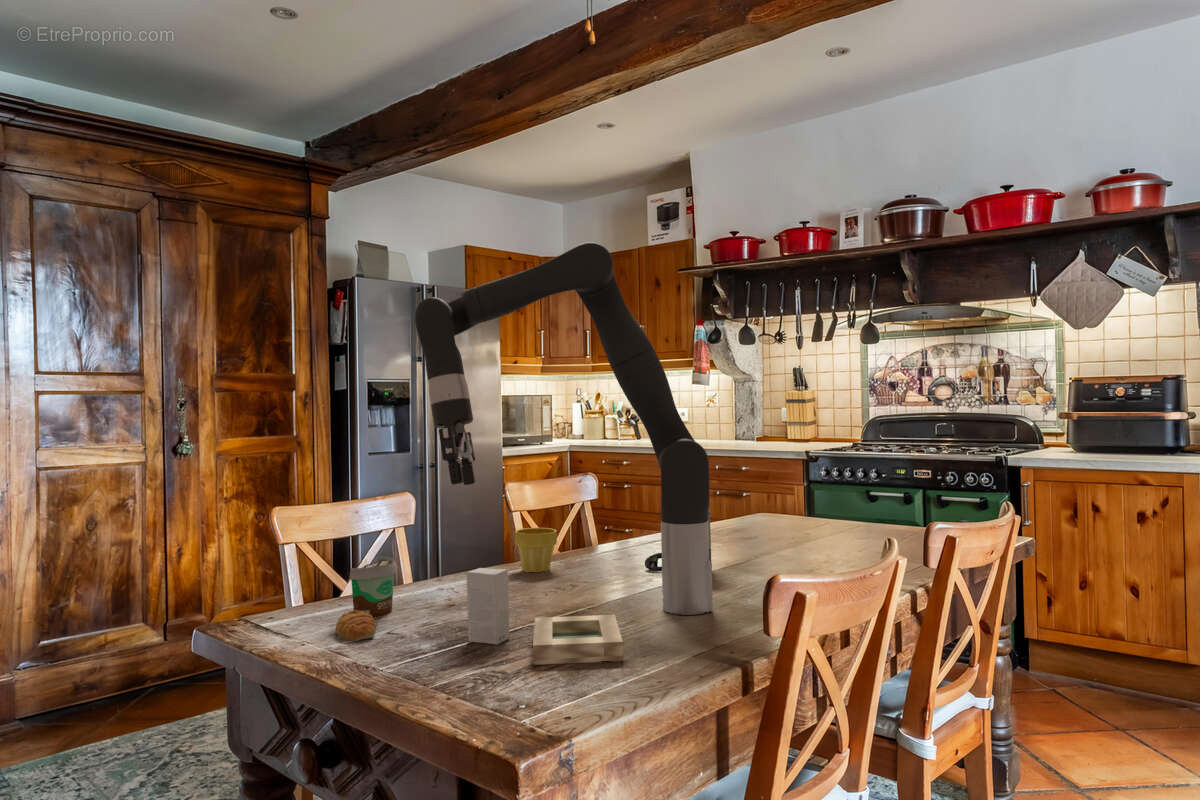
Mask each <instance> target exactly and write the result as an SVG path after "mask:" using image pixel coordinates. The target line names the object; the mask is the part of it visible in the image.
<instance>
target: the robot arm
mask: <svg viewBox="0 0 1200 800" xmlns="http://www.w3.org/2000/svg"><path fill="white" fill-rule="evenodd" d="M574 290H575V292H576V293H577V295H578V298H580V300H581V301H582V303H583V305H584V307H585V308H586V310H587V312H588V313H589V315H590V317H591V319H592V321H593V323H594V325H595V326H594V327H596V331H597V334H598V337H599V341H600V343H601V345H602V346H601V347H602V349H603V351H604V354H605V356H606V359H607V361H608V364H609V365H610V368H611V370H612V372H613V374H614V376H615V378H616V381H617V383H618V385H619V387H620V388H621V390H622V392H623V393H624V396H625V397H626V399H627V402H628V403H629V404H630V405H631V407H632V409H633V410H634V412H635V414H636V415H637V416H638V418H639V419H640V421H641V423H642V425H643V426H644V429H645V430H646V433H647V436H648V439H649V440H650V443H651V447H652V448H653V452H654V453H655V457H656V460H657V463H658V468H659V469H660V486H661V487H660V489H661V490H660V492H661V493H660V499H661V500H660V536H661V537H660V538H661V539H660V541H661V542H660V543H661V545H660V546H661V548H660V549H661V553H662V558H661V566H662V571H661V581H662V583H661V587H662V598H661V599H662V610H663V611H664V612H666V613H668V612H669V614H672V613H673V614H672V615H679V614H681V616H689V615H690V616H692V615H694V616H695V615H701V614H706V613H712V611H713V612H714V608H713V607H714V605H713V604H714V603H713V600H714V598H713V596H714V595H713V574H712V571H713V563H711V562H712V560H711V561H710V560H709V532H708V511H710V510H709V509H710V497H711V496H710V462H709V457H708V453H707V451H706V450H705V448H704V447H703V446H702V445H701V444H699V443H698V442H696V440H695V438H694V437H693V436H692V434H691V433H690V431H689V429H688V428H687V426H686V424H685V422H684V421H683V419H682V417H681V416H680V413H679V411H678V409H677V406H676V404H675V400H674V396H673V392H672V389H671V386H670V383H669V380H668V377H667V375H666V371H665V370H664V366H663V364H662V363H661V360H660V358H659V357H658V354H657V352H656V349H655V348H654V346H653V344H652V343H651V341H650V340H651V339H649V337H648V336H647V334H646V332H645V331H644V329H643V328H642V326H641V325H640V323H639V322H638V321H637V319H636V318H635V316H634V315H633V313H631V310H630V309H629V308H628V306H627V303H626V302H625V299H624V298H623V295H622V293H621V290H620V288H619V285H618V282H617V279H616V277H615V273H614V261H613V257H612V254H611V253H610V251H609V250H608V249H607V248H606V247H605V246H604V245H602V244H601V243H597V242H592V241H589V242H583V243H581V244H578V245H576V246H574V247H573V248H571V249H568V251H565V252H563V253H562V254H560V255H558V256H556V257H554V258H552V259H550V260H548V261H545V262H543V263H540V264H538V265H536V266H534V267H532V268H528V269H526V270H523V271H520V272H517V273H514V274H511V275H507V276H505V277H501V278H498V279H495V280H492V281H489V282H485V283H483V284H480V285H477V286H474V287H471V288H469V289H467V290H465V291H464V292H463V294H462V296H461V297H459V298H457V299H454V300H452V301H449V302H446V301H445V300H443V299H442V298H439V297H435V296H430V297H426V298H424V299H422V300H421V301H420V302H419V303H418V305H417V306H416V309H415V312H414V322H415V328H416V333H417V336H418V339H419V342H420V345H421V348H422V351H423V356H424V360H425V361H424V362H425V370H426V376H427V382H428V383H427V384H428V397H429V403H430V409H431V416H432V421H433V427H434V428H436V429H438V436H439V442H440V443H439V444H440V450H441V458H442V460H443V462H444V461H445V463H446V465H447V466H448V472H449V478H450V483H451V484H452V485H461V484H462V483H463V485H465V486H468V485H469V486H470V485H474V484H475V483H476V478H475V471H474V467H473V466H474V465H473V464H474V462H476V456H475V451H474V446H473V445H474V444H473V440H472V433H471V432H470V431H467V432H466V429H465V425H469V424H472V422H473V421H474V416H473V410H472V403H471V398H470V392H469V387H468V383H467V380H466V377H465V375H466V374H465V369H464V364H463V363H464V362H463V359H462V355H461V352H460V350H459V348H458V346H457V344H456V339H455V336H457V335H460V334H462V333H464V332H466V331H467V330H470V329H471V328H473V327H475V326H476V325H479V324H481V323H485V322H489V321H491V320H494V319H498V318H500V317H504V316H506V315H509V314H512V313H515V312H517V311H519V310H521V309H523V308H525V307H527V306H529V305H531V304H533V303H536V302H537V301H539V300H543V299H545V298H546V297H551V296H553V295H556V294H559V293H564V292H568V291H574ZM710 611H711V612H710ZM705 612H706V613H705Z"/></svg>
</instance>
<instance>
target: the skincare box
mask: <svg viewBox="0 0 1200 800" xmlns="http://www.w3.org/2000/svg"><path fill="white" fill-rule="evenodd" d="M508 572H509V571H508V569H502V568H501V569H500V568H499V569H498V568H487V567H485V568H484V567H478V568H476V569H472V570H470V571H467V572H466V589H467V590H466V592H467V593H466V595H467V599H466V601H467V628H468V630H467V634H468V642H470V643H481V644H490V645H500V644H502V643H503V642H505V641H507V640H508V639H510V637H511V636H510V612H509V611H510V605H509V604H510V602H509V601H510V600H509V573H508Z"/></svg>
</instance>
